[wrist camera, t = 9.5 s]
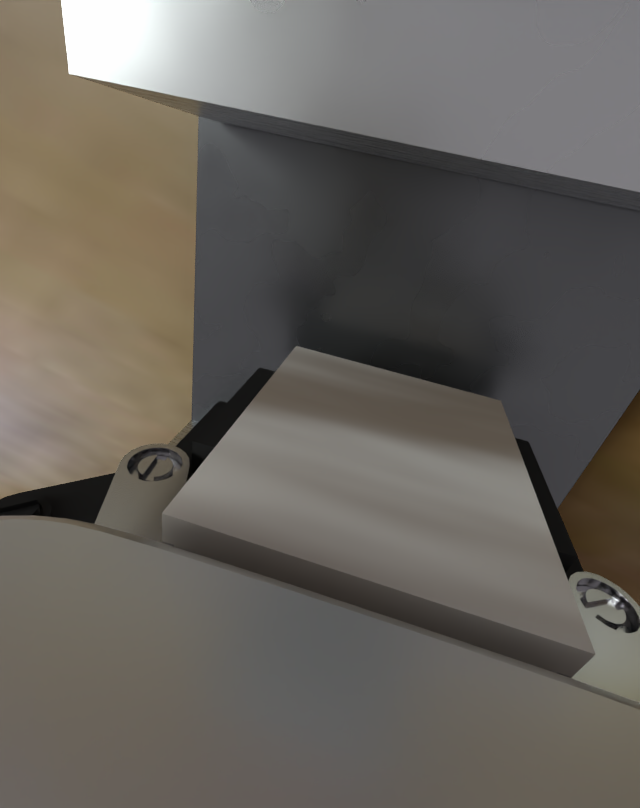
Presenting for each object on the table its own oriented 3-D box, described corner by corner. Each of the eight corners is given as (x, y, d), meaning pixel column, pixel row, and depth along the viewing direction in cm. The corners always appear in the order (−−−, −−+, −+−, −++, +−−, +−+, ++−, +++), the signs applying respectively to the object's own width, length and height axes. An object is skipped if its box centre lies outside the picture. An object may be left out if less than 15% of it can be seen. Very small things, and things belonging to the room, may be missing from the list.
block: (296, 345, 12) (162, 513, 6) (501, 400, 11) (596, 654, 5) (278, 452, 14) (165, 658, 8) (450, 503, 13) (474, 770, 7)
